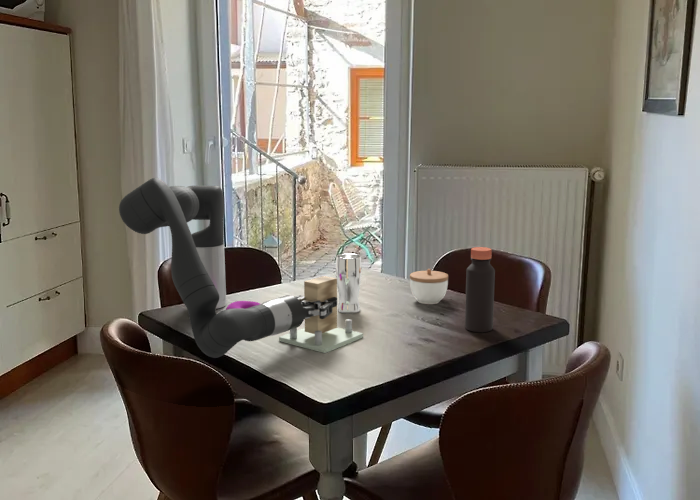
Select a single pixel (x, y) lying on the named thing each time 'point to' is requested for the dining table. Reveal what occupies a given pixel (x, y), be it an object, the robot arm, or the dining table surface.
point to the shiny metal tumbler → (348, 282)
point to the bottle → (480, 291)
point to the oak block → (321, 291)
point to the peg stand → (322, 338)
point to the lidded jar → (428, 286)
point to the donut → (242, 304)
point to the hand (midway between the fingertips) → (328, 299)
